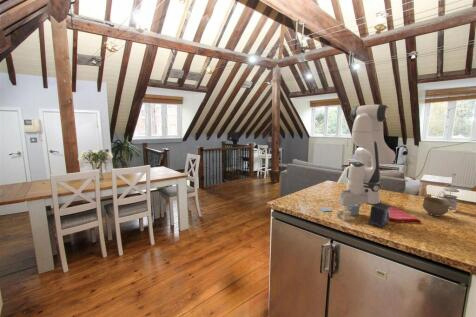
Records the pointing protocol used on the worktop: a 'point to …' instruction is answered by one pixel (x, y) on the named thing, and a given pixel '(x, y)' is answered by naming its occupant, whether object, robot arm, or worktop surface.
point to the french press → (450, 196)
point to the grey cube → (354, 209)
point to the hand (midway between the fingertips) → (352, 211)
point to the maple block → (343, 214)
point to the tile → (325, 209)
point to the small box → (379, 215)
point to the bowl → (435, 205)
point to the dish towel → (400, 215)
